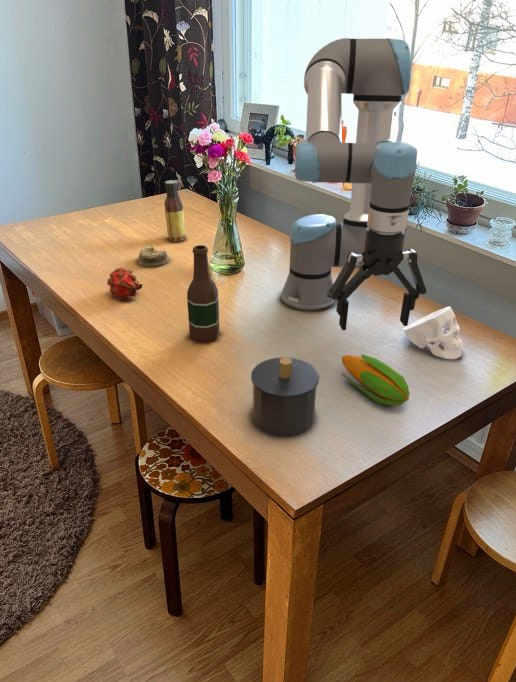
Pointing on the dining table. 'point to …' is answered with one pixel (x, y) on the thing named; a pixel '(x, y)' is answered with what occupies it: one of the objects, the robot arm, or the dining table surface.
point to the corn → (377, 379)
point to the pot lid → (285, 377)
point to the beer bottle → (202, 300)
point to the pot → (283, 413)
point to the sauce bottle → (174, 213)
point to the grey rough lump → (152, 257)
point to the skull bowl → (437, 333)
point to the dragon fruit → (123, 283)
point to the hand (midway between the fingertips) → (373, 325)
